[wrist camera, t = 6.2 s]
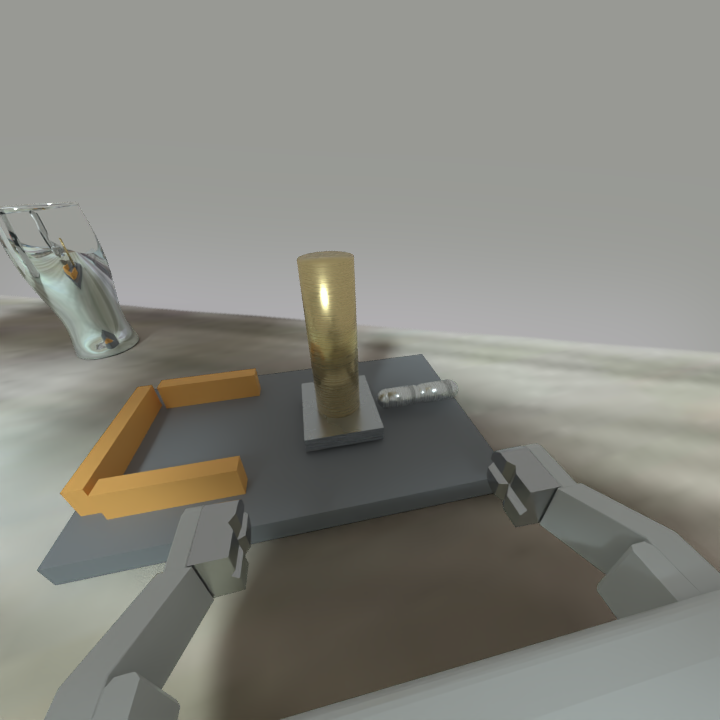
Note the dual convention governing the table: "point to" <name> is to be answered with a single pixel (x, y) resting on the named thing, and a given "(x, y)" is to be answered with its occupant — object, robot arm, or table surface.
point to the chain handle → (343, 360)
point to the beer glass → (68, 274)
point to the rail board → (257, 465)
